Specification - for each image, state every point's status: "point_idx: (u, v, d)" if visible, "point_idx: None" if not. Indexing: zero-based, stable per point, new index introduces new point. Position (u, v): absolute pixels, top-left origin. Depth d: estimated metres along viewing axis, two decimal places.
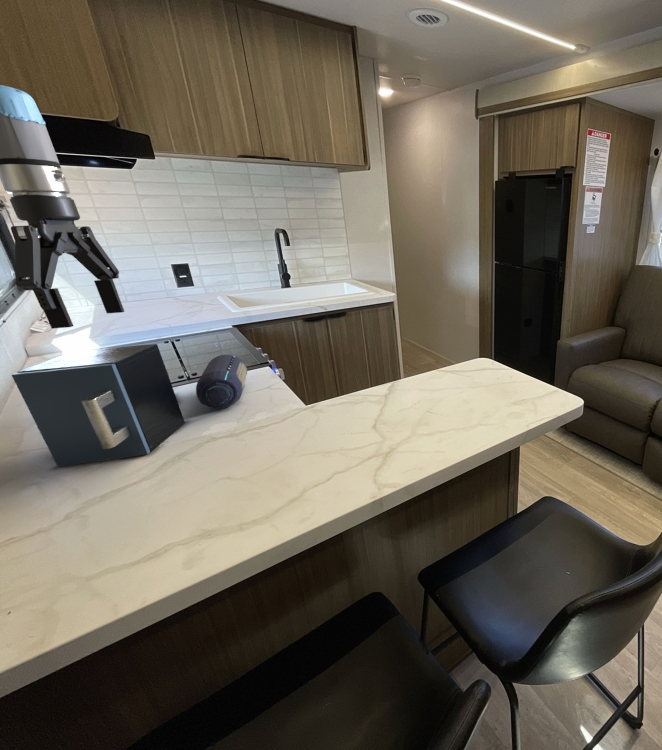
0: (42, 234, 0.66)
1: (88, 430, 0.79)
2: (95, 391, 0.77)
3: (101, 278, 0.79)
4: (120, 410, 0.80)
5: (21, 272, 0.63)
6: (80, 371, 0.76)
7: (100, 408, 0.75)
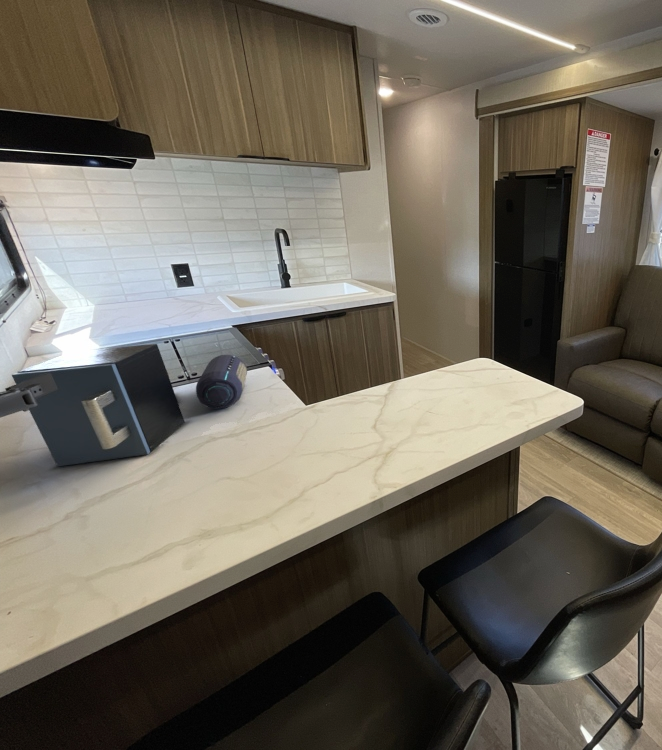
0: None
1: (88, 430, 0.79)
2: (95, 391, 0.77)
3: None
4: (120, 410, 0.80)
5: None
6: (80, 371, 0.76)
7: (100, 408, 0.75)
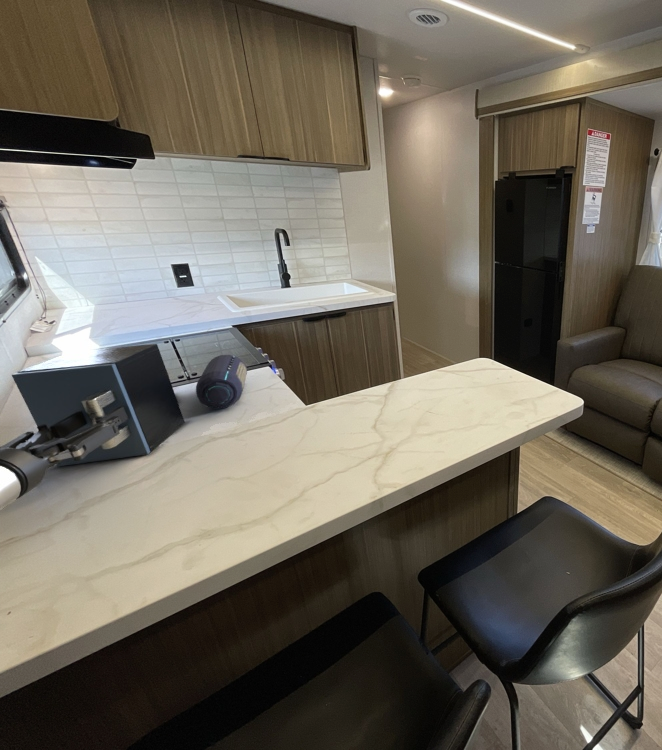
0: None
1: None
2: (95, 391, 0.77)
3: None
4: None
5: None
6: (80, 371, 0.76)
7: (100, 408, 0.75)
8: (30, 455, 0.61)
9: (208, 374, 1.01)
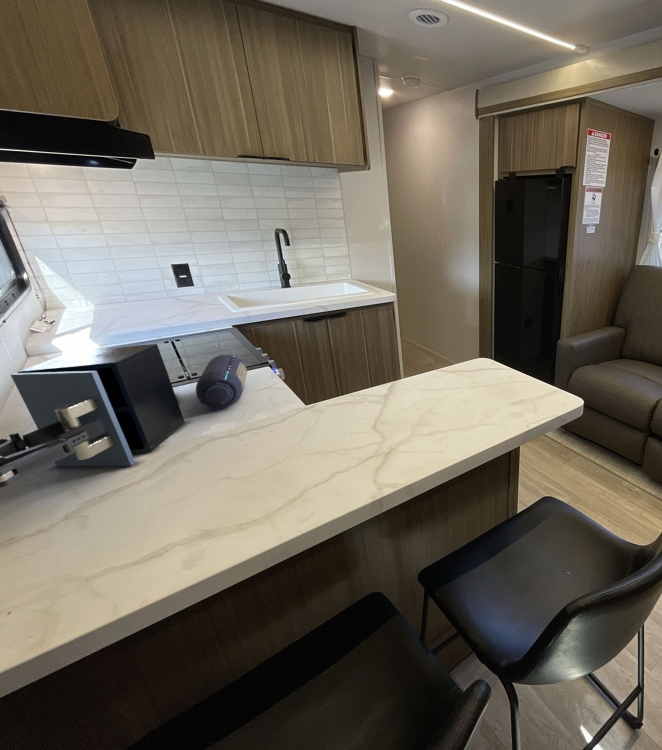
0: None
1: None
2: (80, 397, 0.75)
3: None
4: (103, 419, 0.76)
5: None
6: (65, 377, 0.73)
7: (73, 418, 0.71)
8: None
9: (208, 374, 1.01)
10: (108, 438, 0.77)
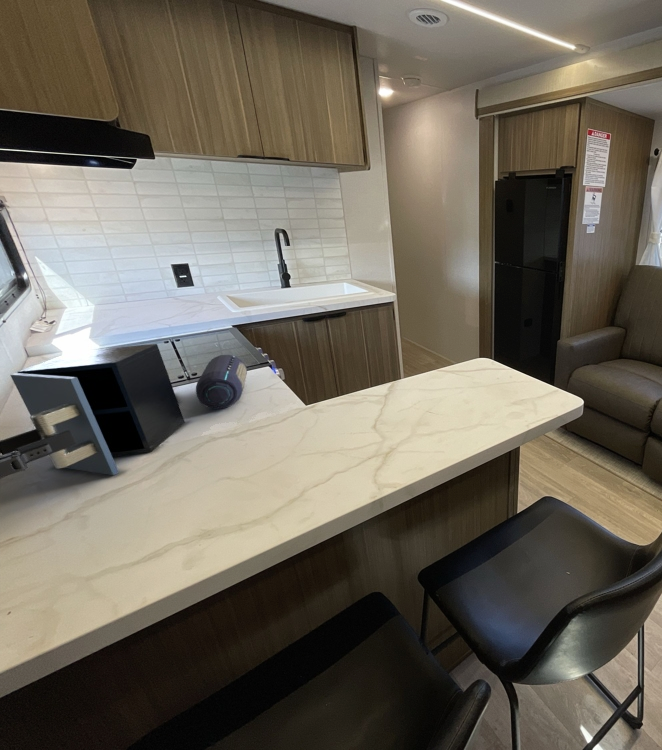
0: None
1: None
2: (64, 403, 0.72)
3: None
4: (85, 426, 0.73)
5: None
6: (50, 381, 0.71)
7: (48, 426, 0.68)
8: None
9: (208, 374, 1.01)
10: (90, 446, 0.74)
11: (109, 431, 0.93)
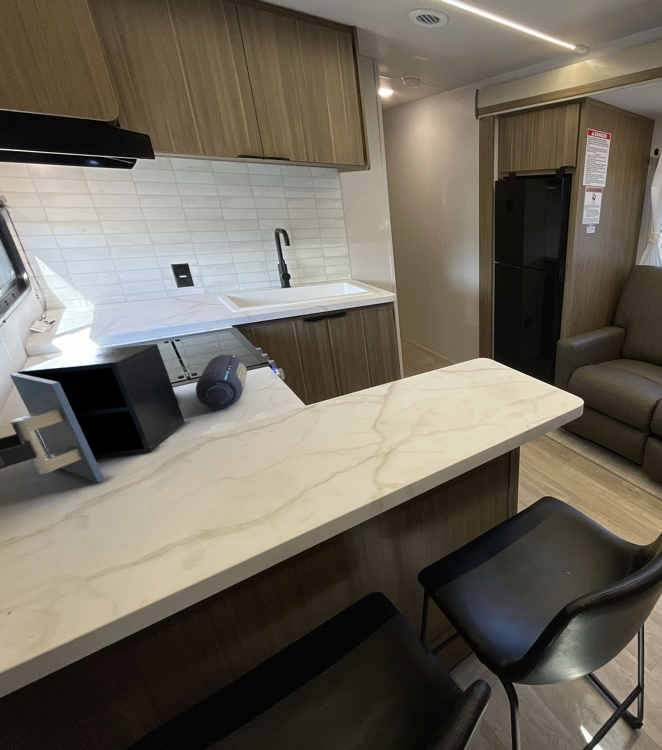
0: None
1: (60, 442, 0.75)
2: (51, 407, 0.71)
3: None
4: (70, 432, 0.71)
5: None
6: (38, 384, 0.70)
7: (28, 431, 0.67)
8: None
9: (208, 374, 1.01)
10: (74, 452, 0.72)
11: (109, 431, 0.93)
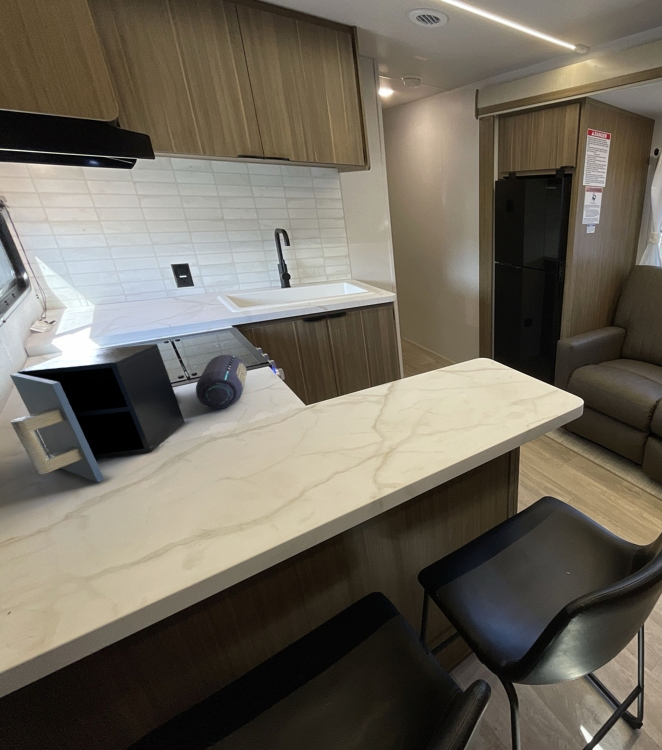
0: None
1: (60, 442, 0.75)
2: (51, 407, 0.71)
3: None
4: (70, 431, 0.71)
5: None
6: (38, 384, 0.70)
7: (28, 431, 0.67)
8: None
9: (208, 374, 1.01)
10: (74, 452, 0.72)
11: (109, 431, 0.93)
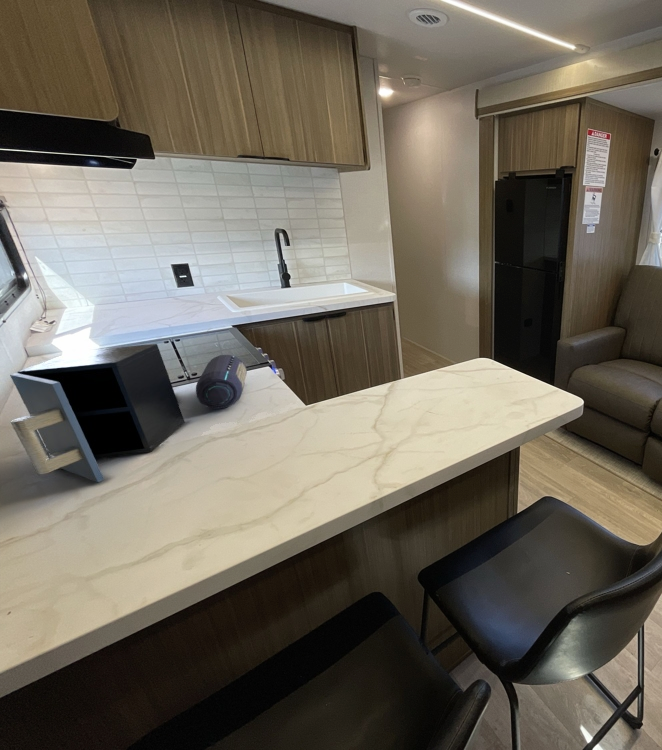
0: None
1: (60, 442, 0.75)
2: (51, 407, 0.71)
3: None
4: (70, 431, 0.71)
5: None
6: (38, 384, 0.70)
7: (28, 431, 0.67)
8: None
9: (208, 374, 1.01)
10: (74, 452, 0.72)
11: (109, 431, 0.93)
